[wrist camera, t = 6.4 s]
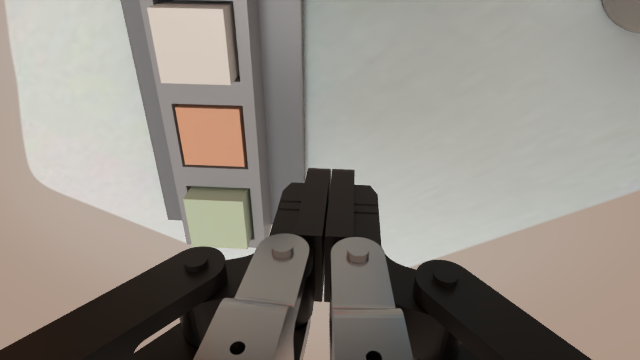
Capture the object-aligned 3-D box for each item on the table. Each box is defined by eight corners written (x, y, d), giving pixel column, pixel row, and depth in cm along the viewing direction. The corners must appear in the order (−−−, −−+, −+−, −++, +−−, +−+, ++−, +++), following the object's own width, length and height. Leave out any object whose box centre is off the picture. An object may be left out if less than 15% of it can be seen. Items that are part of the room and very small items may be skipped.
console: (302, -21, 35) (294, -14, 29) (305, 215, 47) (299, 249, 42) (127, -24, 35) (89, -17, 30) (174, 209, 47) (153, 242, 42)
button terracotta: (246, 97, 37) (239, 109, 34) (251, 151, 40) (244, 166, 37) (187, 95, 37) (175, 107, 35) (195, 149, 40) (185, 164, 37)
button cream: (233, 2, 31) (222, 8, 29) (239, 73, 34) (230, 85, 31) (163, 1, 32) (146, 7, 29) (175, 72, 34) (161, 83, 32)
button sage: (249, 184, 39) (242, 201, 37) (253, 229, 42) (247, 249, 40) (193, 182, 40) (183, 199, 37) (201, 227, 42) (191, 246, 40)
